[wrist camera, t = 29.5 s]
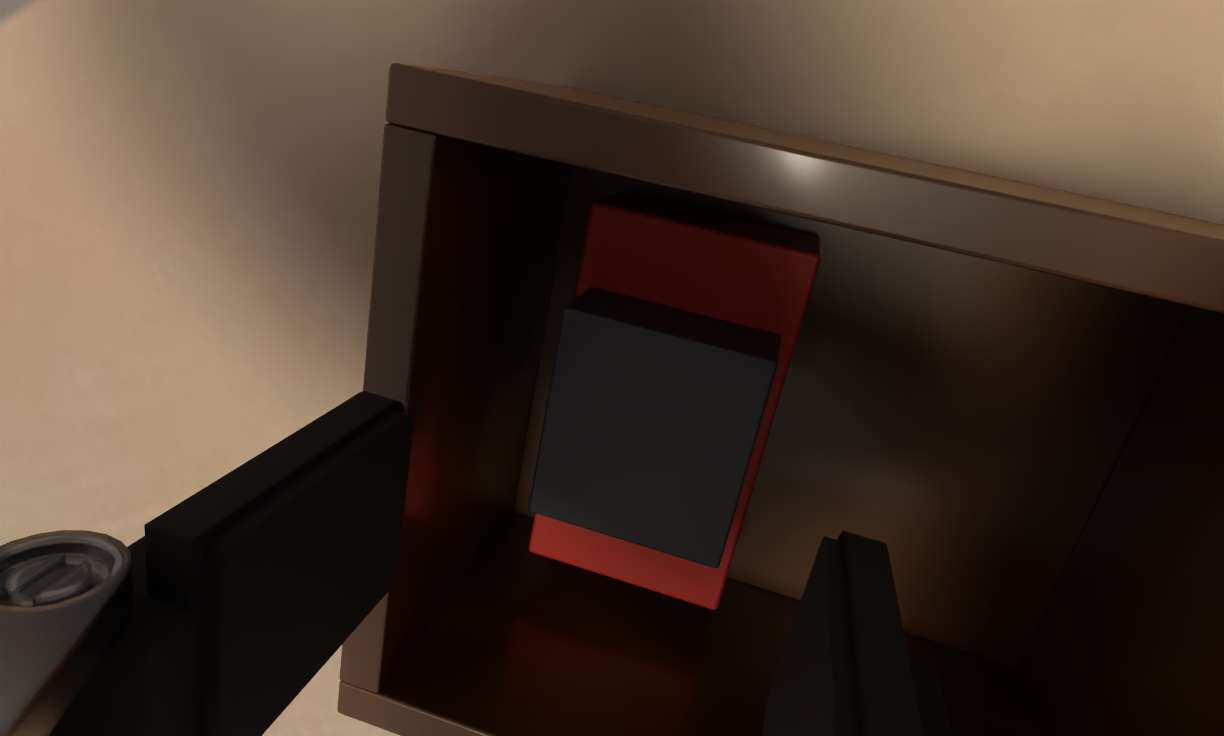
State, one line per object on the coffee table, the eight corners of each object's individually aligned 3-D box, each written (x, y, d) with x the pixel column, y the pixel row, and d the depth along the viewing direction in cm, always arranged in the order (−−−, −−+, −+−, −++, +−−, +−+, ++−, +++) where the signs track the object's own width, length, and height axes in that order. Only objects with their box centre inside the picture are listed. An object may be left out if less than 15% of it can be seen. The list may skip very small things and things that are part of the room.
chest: (493, 513, 21) (336, 713, 14) (561, 85, 17) (387, 61, 10) (1029, 680, 19) (1163, 1020, 12) (1251, 230, 15) (1663, 333, 8)
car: (620, 186, 17) (556, 210, 13) (824, 234, 16) (830, 275, 12) (561, 492, 20) (492, 597, 15) (732, 544, 19) (711, 669, 15)
